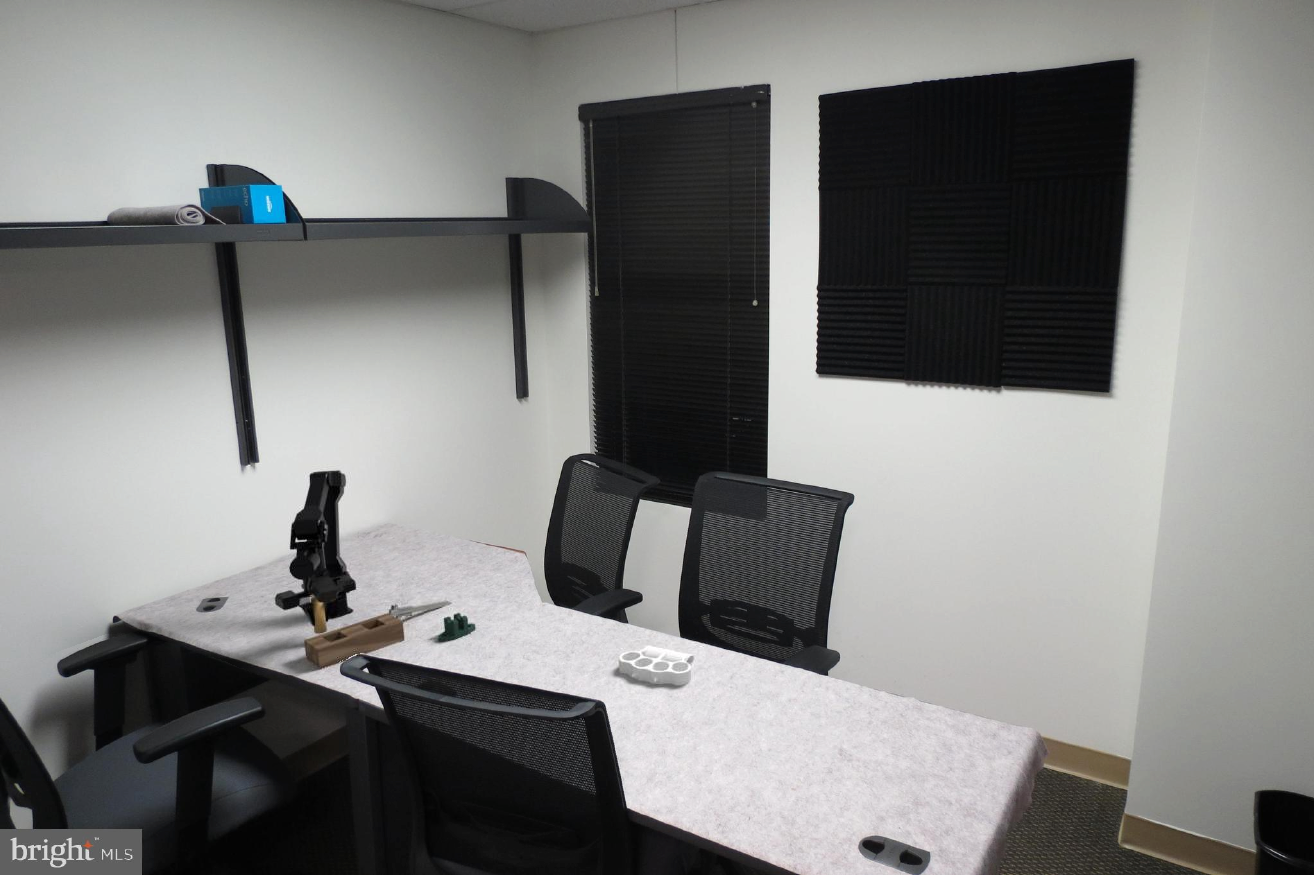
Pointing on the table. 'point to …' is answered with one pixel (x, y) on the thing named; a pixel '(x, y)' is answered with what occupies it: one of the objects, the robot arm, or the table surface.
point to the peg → (319, 616)
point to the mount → (455, 628)
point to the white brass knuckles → (657, 666)
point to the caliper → (414, 608)
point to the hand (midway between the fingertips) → (319, 623)
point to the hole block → (353, 640)
